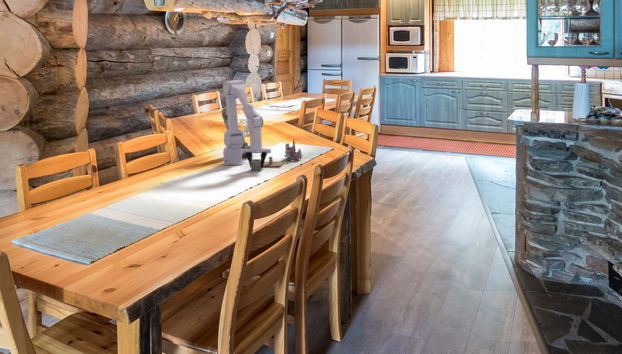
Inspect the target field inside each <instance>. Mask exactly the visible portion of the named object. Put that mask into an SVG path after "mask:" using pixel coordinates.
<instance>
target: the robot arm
mask: <svg viewBox="0 0 622 354" xmlns="http://www.w3.org/2000/svg"><path fill="white" fill-rule="evenodd" d="M222 93H223V97H225V105H226V106H225V107H226V108H227V117H228V127H229V129H228V130H227V129H226V131H225V132H224V133H223V135H224V137H223V143H224V146H225V147H224V148H223V165H224V166H227V165H228V166H240V165H243V164H244V163H245V161H244V160H243V156H242V153H246V154H245V157H246V159H247V161H248V163H249V166H250V167H249V168H250V169H251V161H252V160H253V154H260V159H261V168H263V169H264V168H265V167H264V162H266V158H267V155H268V154H271V153H272V149H271V148H263V145H262V144H263V143H262V142H263V141H262V128H263V127H264V119H263V117H262V116H261V115H260V114H259V113H258V112H257V111H256V109H255V107H254V105H253V104H252V103H250V101H249V99H248V96H247V93H246V84H245V81H244V80H243V79H233V80H225V81H223V84H222ZM237 98H238V100H239V102H240V104H241V106H242V112H243V113H244V116H245V118H246V120H247V121H246V124H247V127H248V128H247V129H248V132H249V143H250V144H249V146H250V149H242V147H243V145H244V142H246V139H245V136H244V132H243V130H242V129H241V128H239V119H238V111H237V109H238V108H237V101H236V99H237ZM240 129H241V130H240ZM231 134H236V135H231Z"/></svg>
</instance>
